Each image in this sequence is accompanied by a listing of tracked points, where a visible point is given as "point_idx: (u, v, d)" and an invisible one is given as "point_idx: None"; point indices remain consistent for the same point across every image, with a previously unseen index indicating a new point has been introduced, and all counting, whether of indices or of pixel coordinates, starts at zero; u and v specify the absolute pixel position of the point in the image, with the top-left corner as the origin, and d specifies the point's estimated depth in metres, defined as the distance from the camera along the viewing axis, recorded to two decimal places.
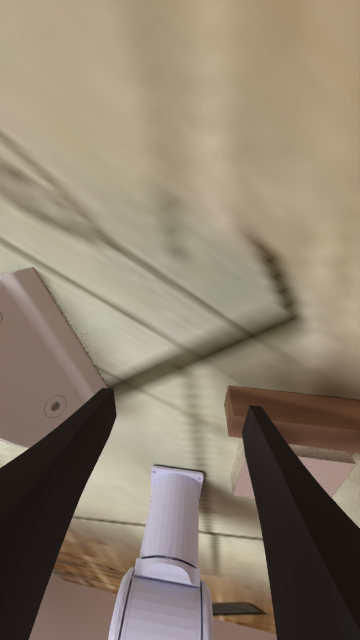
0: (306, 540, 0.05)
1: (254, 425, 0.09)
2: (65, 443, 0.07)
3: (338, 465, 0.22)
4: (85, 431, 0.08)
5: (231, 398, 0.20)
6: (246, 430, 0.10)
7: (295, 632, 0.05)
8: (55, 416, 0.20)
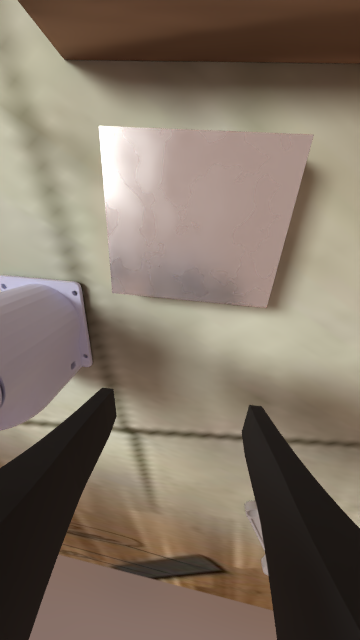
0: (306, 540, 0.05)
1: (254, 425, 0.09)
2: (65, 443, 0.07)
3: (278, 147, 0.11)
4: (85, 431, 0.08)
5: None
6: (246, 430, 0.10)
7: (295, 633, 0.05)
8: None
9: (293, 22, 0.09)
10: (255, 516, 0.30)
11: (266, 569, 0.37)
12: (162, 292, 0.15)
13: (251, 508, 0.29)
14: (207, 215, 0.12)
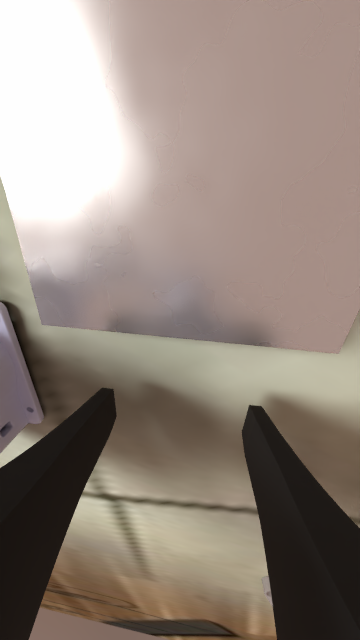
0: (306, 541, 0.05)
1: (254, 425, 0.09)
2: (65, 443, 0.07)
3: None
4: (85, 431, 0.08)
5: None
6: (246, 430, 0.10)
7: (294, 632, 0.05)
8: None
9: None
10: None
11: None
12: (134, 324, 0.08)
13: None
14: (224, 155, 0.05)
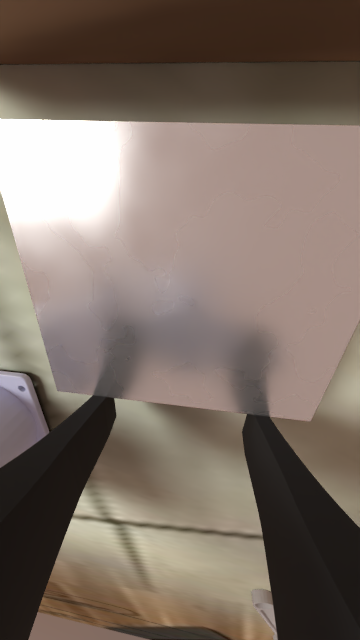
0: (307, 541, 0.05)
1: (254, 425, 0.09)
2: (65, 443, 0.07)
3: None
4: (85, 431, 0.08)
5: None
6: (246, 430, 0.10)
7: (295, 632, 0.05)
8: None
9: None
10: (265, 608, 0.25)
11: None
12: (137, 394, 0.09)
13: (259, 601, 0.24)
14: (210, 284, 0.07)
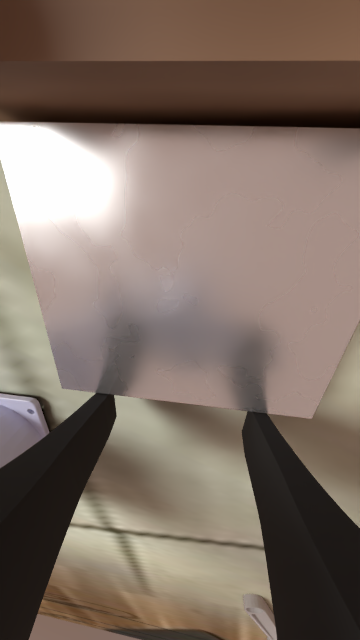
0: (306, 541, 0.05)
1: (254, 425, 0.09)
2: (65, 443, 0.07)
3: None
4: (85, 431, 0.08)
5: None
6: (246, 430, 0.10)
7: (295, 632, 0.05)
8: None
9: (351, 115, 0.05)
10: (256, 612, 0.26)
11: None
12: (141, 391, 0.09)
13: (250, 605, 0.25)
14: (213, 283, 0.07)
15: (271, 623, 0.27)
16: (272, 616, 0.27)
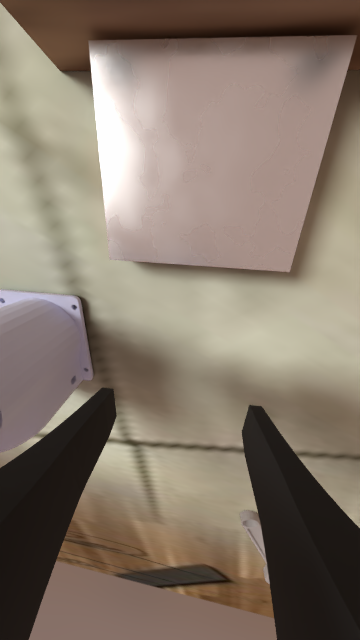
0: (306, 540, 0.05)
1: (254, 425, 0.09)
2: (65, 443, 0.07)
3: (310, 56, 0.09)
4: (85, 431, 0.08)
5: None
6: (246, 430, 0.10)
7: (295, 632, 0.05)
8: None
9: (302, 29, 0.08)
10: (251, 526, 0.29)
11: (268, 578, 0.36)
12: (167, 257, 0.13)
13: (246, 518, 0.28)
14: (220, 154, 0.10)
15: None
16: None
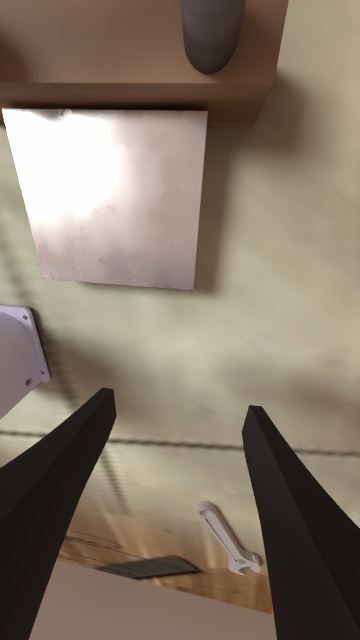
0: (306, 541, 0.05)
1: (254, 425, 0.09)
2: (65, 443, 0.07)
3: (175, 125, 0.11)
4: (85, 431, 0.08)
5: None
6: (246, 430, 0.10)
7: (295, 632, 0.05)
8: None
9: (166, 104, 0.11)
10: (208, 516, 0.31)
11: (231, 567, 0.38)
12: (91, 277, 0.15)
13: (202, 508, 0.31)
14: (120, 196, 0.12)
15: (222, 528, 0.32)
16: (224, 524, 0.33)
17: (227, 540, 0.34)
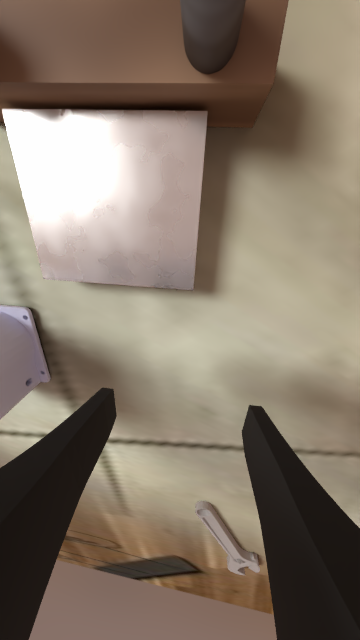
0: (306, 541, 0.05)
1: (254, 425, 0.09)
2: (65, 443, 0.07)
3: (175, 125, 0.11)
4: (85, 431, 0.08)
5: None
6: (246, 430, 0.10)
7: (295, 632, 0.05)
8: None
9: (166, 104, 0.11)
10: (205, 515, 0.31)
11: (230, 567, 0.38)
12: (91, 277, 0.15)
13: (199, 508, 0.31)
14: (120, 196, 0.12)
15: (220, 527, 0.32)
16: (222, 523, 0.33)
17: (225, 539, 0.34)
